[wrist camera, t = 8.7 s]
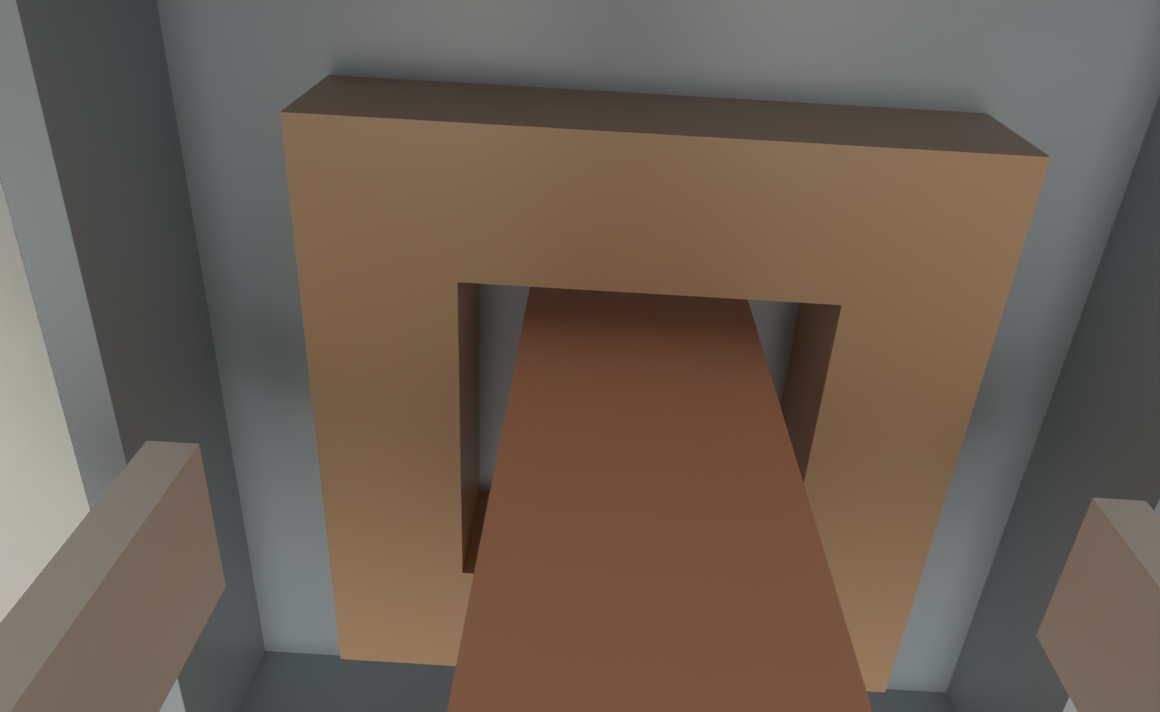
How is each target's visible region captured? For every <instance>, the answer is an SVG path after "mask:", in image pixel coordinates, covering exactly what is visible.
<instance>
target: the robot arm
mask: <svg viewBox="0 0 1160 712" xmlns="http://www.w3.org/2000/svg"><path fill="white" fill-rule="evenodd" d="M225 587H226V584H225V579H224V574H223V568H222V563H221V558H220V552H219V547H218V542H217V536H216V531H215V526H214V520H213V515H212V510H211V504H210V499H209V494H208V488H207V483H206V478H205V472H204V467H203V462H202V456H201V451H200V446H199V444H194V443H178V442H161V441H146V442H145V443H144V444H143V446H142V447H141V448H140V449H139V451H138V452H137V453H136V454H135V456H134V457H133V458H132V459H131V461H130V462H129V463H128V464H127V466H126V467H125V468H124V469H123V471H122V472H121V473H120V474H119V476H118V477H117V478H116V479H115V481H114V482H113V483H112V484H111V486H110V487H109V488H108V489H107V491H106V492H105V493H104V494H103V496H102V497H101V498H100V499H99V501H98V502H97V503H96V504H95V506H94V507H93V508H92V509H91V511H90V512H89V513H88V514H87V516H86V517H85V518H84V519H83V521H82V522H81V523H80V524H79V526H78V527H77V528H76V529H75V531H74V532H73V533H72V534H71V536H70V537H69V538H68V539H67V541H66V542H65V543H64V544H63V546H62V547H61V548H60V549H59V551H58V552H57V553H56V554H55V556H54V557H53V558H52V559H51V561H50V562H49V563H48V564H47V566H46V567H45V568H44V569H43V571H42V572H41V573H40V574H39V576H38V577H37V578H36V579H35V581H34V582H33V583H32V584H31V586H30V587H29V588H28V589H27V591H26V592H25V593H24V594H23V596H22V597H21V598H20V599H19V601H18V602H17V603H16V604H15V606H14V607H13V608H12V609H11V611H10V612H9V613H8V614H7V616H6V617H5V618H4V619H3V621H2V622H1V623H0V712H159V711H160V709H161V707H162V705H163V704H164V702H165V700H166V698H167V696H168V694H169V692H170V690H171V689H172V687H173V685H174V683H175V681H176V679H177V677H178V675H179V673H180V672H181V670H182V668H183V666H184V664H185V662H186V660H187V658H188V657H189V655H190V653H191V651H192V649H193V647H194V645H195V643H196V641H197V640H198V638H199V636H200V634H201V632H202V630H203V628H204V626H205V625H206V623H207V621H208V619H209V617H210V615H211V613H212V611H213V610H214V608H215V606H216V604H217V602H218V600H219V598H220V596H221V594H222V593H223V591H224V589H225ZM1036 636H1037V638H1038V640H1039V642H1040V643H1041V645H1042V647H1043V649H1044V651H1045V653H1046V654H1047V656H1048V658H1049V660H1050V662H1051V664H1052V666H1053V667H1054V669H1055V671H1056V673H1057V675H1058V677H1059V678H1060V680H1061V682H1062V684H1063V686H1064V688H1065V690H1066V691H1067V693H1068V695H1069V697H1070V699H1071V701H1072V702H1073V704H1074V706H1075V708H1076V710H1077V712H1160V517H1159V516H1158V515H1157V514H1156V513H1155V511H1154V510H1153V509H1152V508H1151V506H1150V505H1149V504H1148V503H1147V502H1146V501H1140V500H1123V499H1107V498H1092V501H1091V503H1090V506H1089V508H1088V510H1087V513H1086V515H1085V518H1084V520H1083V523H1082V525H1081V528H1080V530H1079V532H1078V535H1077V537H1076V540H1075V542H1074V545H1073V547H1072V550H1071V552H1070V554H1069V557H1068V559H1067V562H1066V564H1065V567H1064V569H1063V572H1062V574H1061V576H1060V579H1059V581H1058V584H1057V586H1056V589H1055V591H1054V594H1053V596H1052V598H1051V601H1050V603H1049V606H1048V608H1047V611H1046V613H1045V616H1044V618H1043V620H1042V623H1041V625H1040V628H1039V630H1038V633H1037V635H1036Z"/></svg>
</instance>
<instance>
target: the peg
mask: <svg viewBox="0 0 1160 712" xmlns="http://www.w3.org/2000/svg"><path fill="white" fill-rule="evenodd" d="M447 712H873V711H872V708H871V704H870V701H869V698H868V694H867V691H866V688H865V684H864V681H863V678H862V675H861V671H860V668H859V665H858V661H857V658H856V655H855V651H854V648H853V645H852V641H851V638H850V635H849V632H848V628H847V625H846V622H845V618H844V615H843V612H842V608H841V605H840V602H839V599H838V595H837V592H836V589H835V585H834V582H833V579H832V575H831V572H830V569H829V566H828V562H827V559H826V556H825V552H824V549H823V546H822V542H821V539H820V536H819V533H818V529H817V526H816V523H815V519H814V516H813V513H812V509H811V506H810V503H809V500H808V496H807V493H806V490H805V486H804V483H803V480H802V476H801V473H800V470H799V467H798V463H797V460H796V457H795V453H794V450H793V447H792V443H791V440H790V437H789V434H788V430H787V427H786V424H785V420H784V417H783V414H782V410H781V407H780V404H779V401H778V397H777V394H776V391H775V387H774V384H773V381H772V377H771V374H770V371H769V368H768V364H767V361H766V358H765V354H764V351H763V348H762V344H761V341H760V338H759V334H758V331H757V328H756V325H755V321H754V318H753V315H752V311H751V308H750V305H749V301H748V299H731V298H714V297H697V296H680V295H664V294H647V293H630V292H613V291H596V290H579V289H563V288H546V287H530V289H529V294H528V299H527V304H526V309H525V314H524V319H523V325H522V330H521V335H520V340H519V345H518V350H517V355H516V360H515V366H514V371H513V376H512V381H511V386H510V391H509V396H508V402H507V407H506V412H505V417H504V422H503V427H502V432H501V437H500V443H499V448H498V453H497V458H496V463H495V468H494V473H493V478H492V484H491V489H490V494H489V499H488V504H487V509H486V514H485V519H484V525H483V530H482V535H481V540H480V545H479V550H478V555H477V560H476V566H475V571H474V576H473V581H472V586H471V591H470V596H469V601H468V607H467V612H466V617H465V622H464V627H463V632H462V637H461V642H460V648H459V653H458V658H457V663H456V668H455V673H454V678H453V684H452V689H451V694H450V699H449V704H448V709H447Z"/></svg>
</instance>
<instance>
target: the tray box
mask: <svg viewBox="0 0 1160 712" xmlns="http://www.w3.org/2000/svg"><path fill="white" fill-rule="evenodd" d="M0 178H1V182H2V186H3V190H4V193H5V197H6V201H7V204H8V208H9V212H10V215H11V219H12V223H13V227H14V230H15V234H16V238H17V241H18V245H19V249H20V252H21V256H22V260H23V264H24V267H25V271H26V275H27V278H28V282H29V286H30V289H31V293H32V297H33V300H34V304H35V308H36V312H37V315H38V319H39V323H40V326H41V330H42V334H43V337H44V341H45V345H46V349H47V352H48V356H49V360H50V363H51V367H52V371H53V374H54V378H55V382H56V386H57V389H58V393H59V397H60V400H61V404H62V408H63V411H64V415H65V419H66V422H67V426H68V430H69V434H70V437H71V441H72V445H73V448H74V452H75V456H76V459H77V463H78V467H79V471H80V474H81V478H82V482H83V485H84V489H85V493H86V496H87V500H88V504H89V508H90V511H91V509H92V508H93V507H94V506H95V504H96V503H97V502H98V501H99V499H100V498H101V497H102V496H103V494H104V493H105V492H106V491H107V489H108V488H109V487H110V486H111V484H112V483H113V482H114V481H115V479H116V478H117V477H118V476H119V474H120V473H121V472H122V471H123V469H124V468H125V467H126V466H127V464H128V463H129V462H130V461H131V459H132V458H133V457H134V456H135V454H136V453H137V452H138V451H139V449H140V448H141V447H142V446H143V444H144V443H145V442H146V441H161V442H178V443H194V444H199V446H200V451H201V456H202V462H203V467H204V472H205V478H206V483H207V488H208V494H209V499H210V504H211V510H212V515H213V520H214V526H215V531H216V536H217V542H218V547H219V552H220V558H221V563H222V568H223V574H224V579H225V584H226V587H225V589H224V591H223V593H222V594H221V596H220V598H219V600H218V602H217V604H216V606H215V608H214V610H213V611H212V613H211V615H210V617H209V619H208V621H207V623H206V625H205V626H204V628H203V630H202V632H201V634H200V636H199V638H198V640H197V641H196V643H195V645H194V647H193V649H192V651H191V653H190V655H189V657H188V658H187V660H186V662H185V664H184V666H183V668H182V670H181V672H180V673H179V675H178V677H177V679H176V681H175V683H174V685H173V687H172V689H171V690H170V692H169V694H168V696H167V698H166V700H165V702H164V704H163V705H162V707H161V709H160V711H159V712H447V709H448V704H449V699H450V694H451V689H452V684H453V678H454V673H455V668H456V663H457V658H458V653H459V648H460V642H461V637H462V632H463V627H464V622H465V617H466V612H467V607H468V601H469V596H470V591H471V586H472V581H473V576H474V571H475V566H476V560H477V555H478V550H479V545H480V540H481V535H482V530H483V525H484V519H485V514H486V509H487V504H488V499H489V494H490V489H491V484H492V478H493V473H494V468H495V463H496V458H497V453H498V448H499V443H500V437H501V432H502V427H503V422H504V417H505V412H506V407H507V402H508V396H509V391H510V386H511V381H512V376H513V371H514V366H515V360H516V355H517V350H518V345H519V340H520V335H521V330H522V325H523V319H524V314H525V309H526V304H527V299H528V294H529V289H530V287H546V288H563V289H579V290H596V291H613V292H630V293H647V294H664V295H680V296H697V297H714V298H731V299H748V301H749V305H750V308H751V311H752V315H753V318H754V321H755V325H756V328H757V331H758V334H759V338H760V341H761V344H762V348H763V351H764V354H765V358H766V361H767V364H768V368H769V371H770V374H771V377H772V381H773V384H774V387H775V391H776V394H777V397H778V401H779V404H780V407H781V410H782V414H783V417H784V420H785V424H786V427H787V430H788V434H789V437H790V440H791V443H792V447H793V450H794V453H795V457H796V460H797V463H798V467H799V470H800V473H801V476H802V480H803V483H804V486H805V490H806V493H807V496H808V500H809V503H810V506H811V509H812V513H813V516H814V519H815V523H816V526H817V529H818V533H819V536H820V539H821V542H822V546H823V549H824V552H825V556H826V559H827V562H828V566H829V569H830V572H831V575H832V579H833V582H834V585H835V589H836V592H837V595H838V599H839V602H840V605H841V608H842V612H843V615H844V618H845V622H846V625H847V628H848V632H849V635H850V638H851V641H852V645H853V648H854V651H855V655H856V658H857V661H858V665H859V668H860V671H861V675H862V678H863V681H864V684H865V688H866V691H867V694H868V698H869V701H870V704H871V708H872V711H873V712H1077V710H1076V708H1075V706H1074V704H1073V702H1072V701H1071V699H1070V697H1069V695H1068V693H1067V691H1066V690H1065V688H1064V686H1063V684H1062V682H1061V680H1060V678H1059V677H1058V675H1057V673H1056V671H1055V669H1054V667H1053V666H1052V664H1051V662H1050V660H1049V658H1048V656H1047V654H1046V653H1045V651H1044V649H1043V647H1042V645H1041V643H1040V642H1039V640H1038V638H1037V636H1036V635H1037V633H1038V630H1039V628H1040V625H1041V623H1042V620H1043V618H1044V616H1045V613H1046V611H1047V608H1048V606H1049V603H1050V601H1051V598H1052V596H1053V594H1054V591H1055V589H1056V586H1057V584H1058V581H1059V579H1060V576H1061V574H1062V572H1063V569H1064V567H1065V564H1066V562H1067V559H1068V557H1069V554H1070V552H1071V550H1072V547H1073V545H1074V542H1075V540H1076V537H1077V535H1078V532H1079V530H1080V528H1081V525H1082V523H1083V520H1084V518H1085V515H1086V513H1087V510H1088V508H1089V506H1090V503H1091V501H1092V498H1107V499H1123V500H1140V501H1146V502H1147V503H1148V504H1149V505H1150V506H1151V508H1152V509H1153V510H1154V511H1155V513H1156V514H1157V515H1158V516H1159V517H1160V0H0Z"/></svg>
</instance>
